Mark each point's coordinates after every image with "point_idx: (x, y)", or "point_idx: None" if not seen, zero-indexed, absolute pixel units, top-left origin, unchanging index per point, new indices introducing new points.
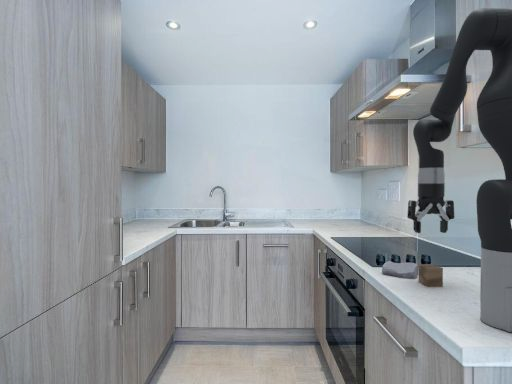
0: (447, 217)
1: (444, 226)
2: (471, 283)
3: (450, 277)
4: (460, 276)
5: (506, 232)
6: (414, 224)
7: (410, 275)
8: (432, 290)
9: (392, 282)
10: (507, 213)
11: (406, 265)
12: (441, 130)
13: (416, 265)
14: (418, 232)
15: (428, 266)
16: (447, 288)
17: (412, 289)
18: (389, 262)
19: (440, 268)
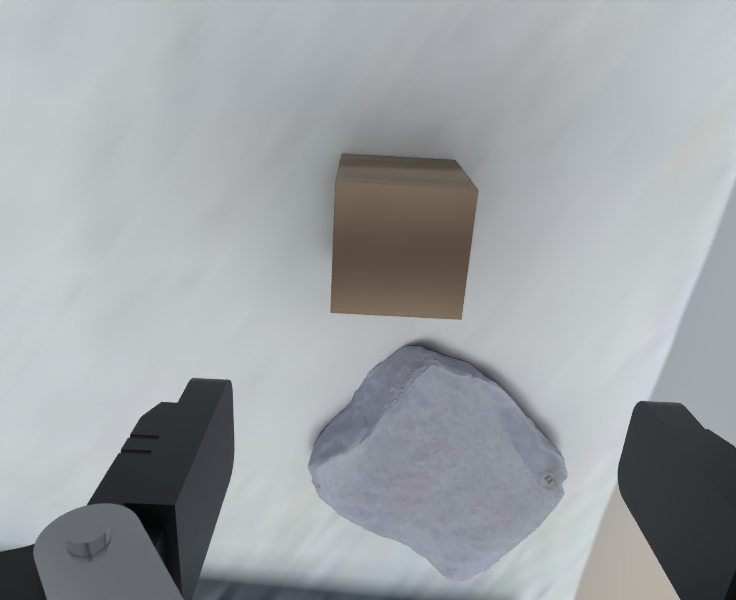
0: (59, 576)
1: (202, 436)
2: (84, 196)
3: (146, 340)
4: (61, 352)
5: None
6: None
7: (443, 359)
8: (474, 81)
9: (619, 287)
10: None
11: (413, 468)
12: None
13: (347, 451)
14: (679, 403)
15: (425, 246)
16: (335, 110)
17: (598, 123)
18: (469, 558)
19: (358, 181)
